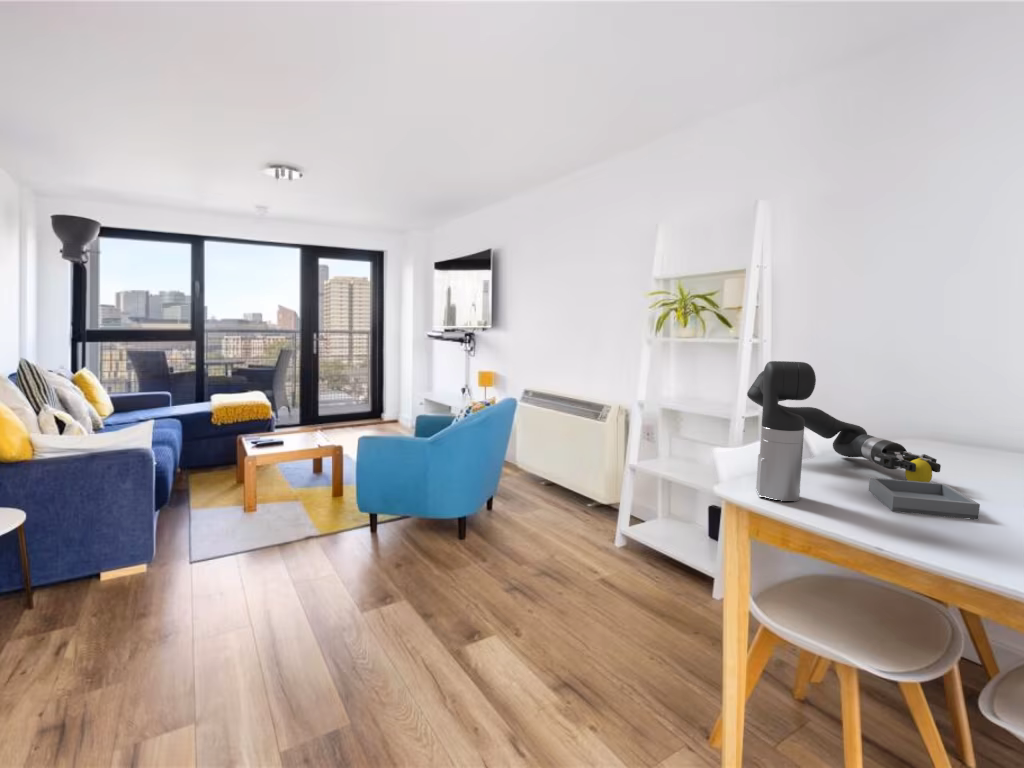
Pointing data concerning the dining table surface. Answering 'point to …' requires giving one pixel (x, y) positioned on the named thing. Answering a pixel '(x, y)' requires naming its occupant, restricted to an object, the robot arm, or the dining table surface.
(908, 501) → the tray
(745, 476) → the dining table surface
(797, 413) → the robot arm
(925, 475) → the lemon
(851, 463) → the dining table surface
